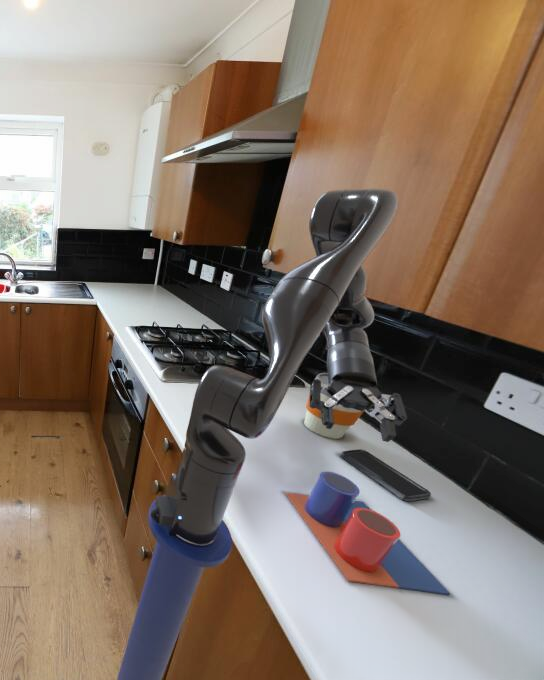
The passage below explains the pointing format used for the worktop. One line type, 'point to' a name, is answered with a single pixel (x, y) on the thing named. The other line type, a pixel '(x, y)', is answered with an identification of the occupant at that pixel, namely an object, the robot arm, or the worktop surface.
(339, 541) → the red beaker
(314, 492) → the blue beaker
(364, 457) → the phone
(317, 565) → the worktop surface
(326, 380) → the reusable coffee cup
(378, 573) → the sorting mat
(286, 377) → the robot arm
